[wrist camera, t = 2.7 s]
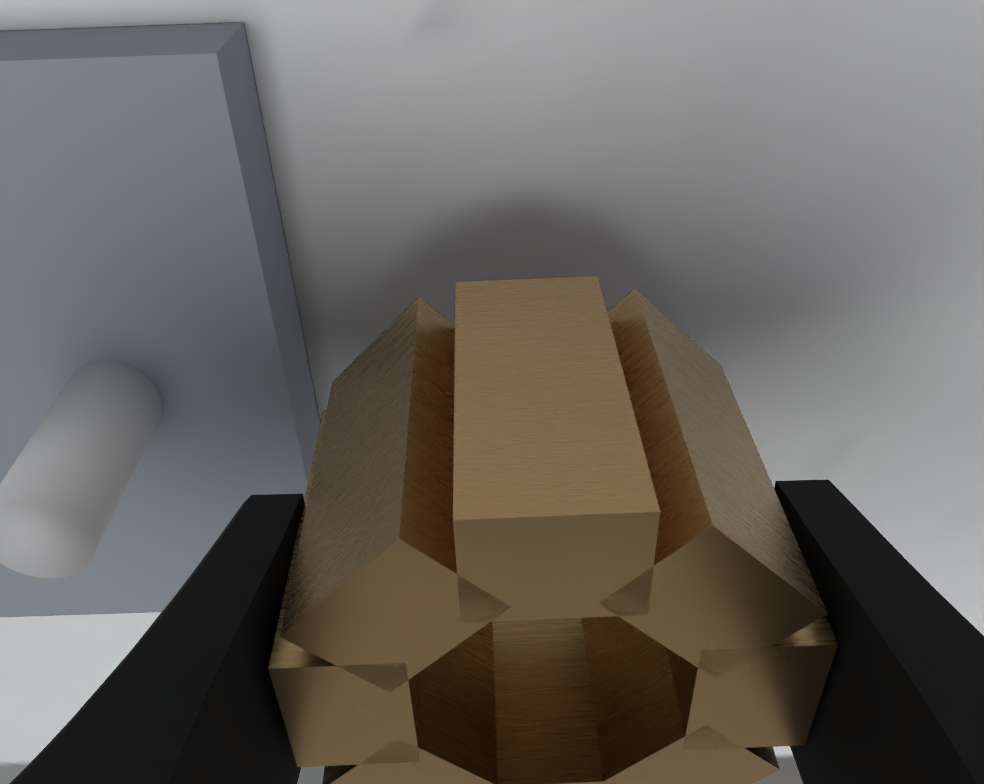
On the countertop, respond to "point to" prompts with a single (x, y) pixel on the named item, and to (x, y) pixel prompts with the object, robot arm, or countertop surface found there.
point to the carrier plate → (138, 314)
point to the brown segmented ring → (543, 558)
